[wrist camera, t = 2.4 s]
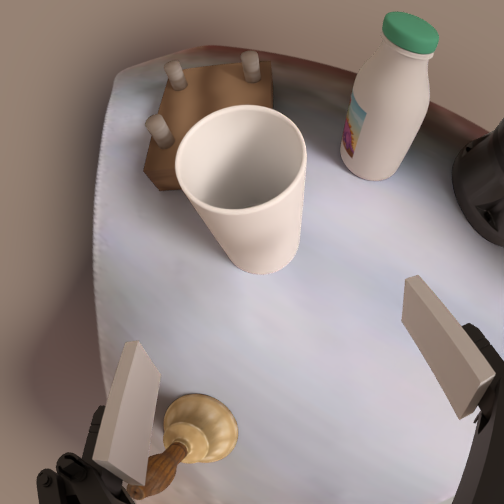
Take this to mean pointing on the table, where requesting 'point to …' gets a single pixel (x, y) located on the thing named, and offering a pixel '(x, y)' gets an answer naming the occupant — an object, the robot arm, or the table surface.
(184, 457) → the hand bell
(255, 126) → the cup
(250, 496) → the table surface
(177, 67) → the riser
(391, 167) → the milk bottle
